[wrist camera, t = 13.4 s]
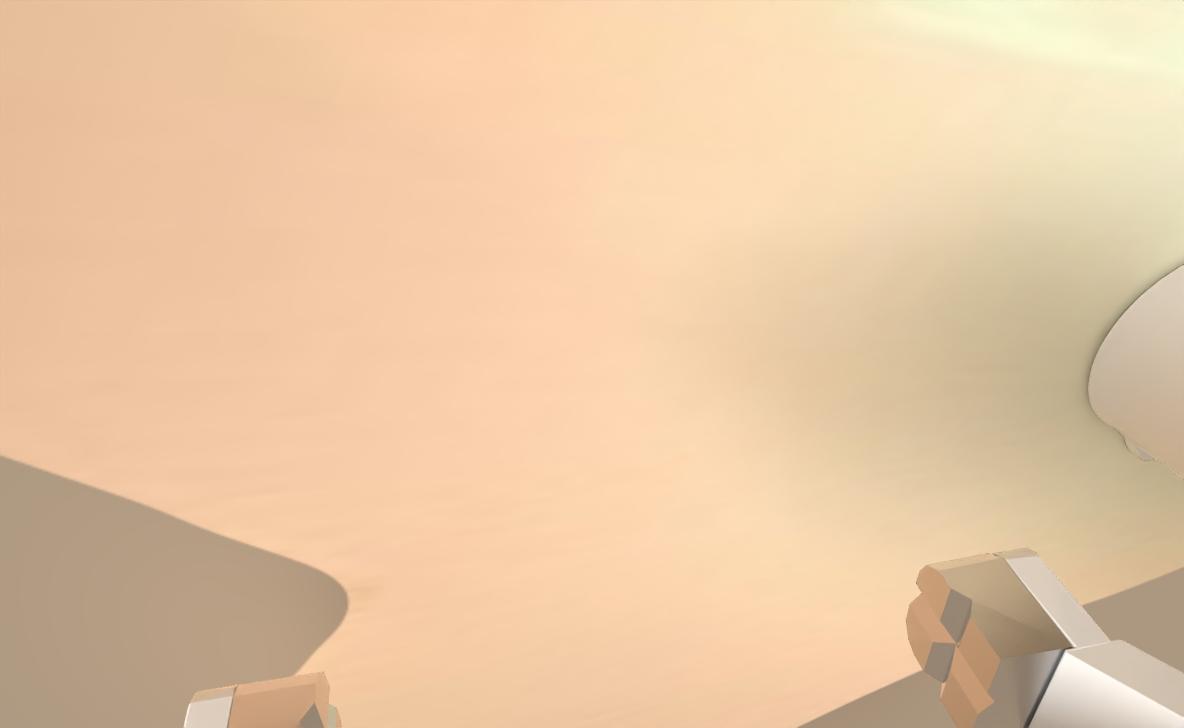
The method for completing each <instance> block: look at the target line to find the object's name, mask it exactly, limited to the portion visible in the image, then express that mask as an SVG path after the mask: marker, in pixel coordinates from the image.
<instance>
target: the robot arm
mask: <svg viewBox="0 0 1184 728" xmlns="http://www.w3.org/2000/svg"><path fill="white" fill-rule="evenodd" d="M1088 392H1089V399H1090V403H1091V406H1092V408H1093V410H1094V412H1095V414H1096V415H1097V416H1098V417H1099V418H1100V419H1101V420H1102V421H1103V422H1104V423H1106V424H1107V425H1109V426H1111V427H1113V428H1114V429H1116V430H1118V431H1119V432H1121V433H1122V434H1123V437H1124V440H1125V443H1126V445H1127V447H1128V449H1129V451H1130V452H1132V453H1133V454H1134V455H1136V456H1137V457H1139V458H1140V459H1141V460H1144V461H1151V460H1155V459H1156V460H1157V461H1159V462H1160V463H1162V464H1163V465H1164V466H1166V467H1167V468H1168V469H1170V470H1171V471H1172V472H1174V473H1175V474H1177V475H1178V476H1179V477H1181V478H1182V479H1183V480H1184V265H1182V266H1180V267H1179V268H1177V269H1176V270H1174V271H1173V272H1171V273H1169V274H1168V275H1166V276H1165V277H1164V278H1162V279H1161V280H1159V281H1158V282H1157V283H1155V284H1154V285H1153V286H1152V287H1150V288H1149V289H1148V290H1147V291H1146V292H1145V293H1143V294H1142V295H1141V296H1140V297H1139V298H1138V299H1137V300H1136V301H1135V302H1134V303H1133V304H1132V305H1131V306H1130V307H1129V308H1128V309H1127V310H1126V311H1125V312H1124V314H1123V315H1122V316H1121V317H1120V318H1119V320H1118V321H1117V322H1116V323H1115V325H1114V326H1113V327H1112V329H1111V330H1110V332H1109V333H1108V335H1107V336H1106V338H1105V339H1104V341H1103V343H1102V345H1101V347H1100V349H1099V351H1098V353H1097V355H1096V357H1095V360H1094V362H1093V365H1092V369H1091V372H1090V377H1089V385H1088ZM916 584H917V586H918V587H919V589H920V590H921V592H922V593H921V594H920V595H919V596H918V597H917V598H916V599H915V600H914V601H913V602H912V603H911V604H910V605H909V610H908V614H907V618H906V625H907V632H908V640H909V642H910V645H911V647H912V650H913V653H914V655H915V657H916V659H917V660H918V662H919V664H920V666H921V667H922V669H923V671H925V672H926V673H928V674H930V675H931V676H932V677H934V678H935V679H937V680H939V681H940V682H942V690H941V698H940V699H941V701H942V703H943V704H944V706H945V708H946V709H947V711H948V713H949V714H950V716H951V718H952V719H953V721H954V723H955V724H956V726H957V727H958V728H1184V673H1182V672H1180V671H1178V670H1177V669H1175V668H1173V667H1171V666H1169V665H1167V664H1166V663H1164V662H1162V661H1160V660H1158V659H1156V658H1154V657H1152V656H1151V655H1149V654H1147V653H1145V652H1143V651H1141V650H1140V649H1138V648H1136V647H1134V646H1132V645H1130V644H1128V643H1127V642H1125V641H1123V640H1121V639H1120V640H1114V641H1111V640H1110V639H1109V638H1108V637H1107V636H1106V634H1105V633H1104V632H1103V631H1102V630H1101V629H1100V628H1099V626H1098V625H1097V624H1096V623H1095V622H1094V620H1093V619H1092V618H1091V617H1090V616H1089V615H1088V613H1087V612H1086V611H1085V610H1084V609H1083V607H1082V606H1081V605H1080V604H1079V602H1078V601H1077V600H1076V599H1075V598H1074V597H1073V595H1072V594H1071V593H1070V592H1069V591H1068V589H1067V588H1066V587H1065V586H1064V585H1063V583H1062V582H1061V581H1060V580H1059V579H1058V578H1057V576H1056V575H1055V574H1054V573H1053V572H1052V570H1051V569H1050V568H1049V567H1048V566H1047V564H1046V563H1045V562H1044V561H1043V560H1042V559H1041V557H1040V556H1039V555H1038V554H1037V553H1036V552H1034V551H1032V550H1031V549H1029V548H1019V549H1014V550H1009V551H1004V552H999V553H994V554H989V553H987V554H982V555H977V556H972V557H966V558H961V559H956V560H951V561H945V562H940V563H935V564H930V565H926V566H925V567H924V568H923V569H922V570H920V572H919V575H918V578H917V582H916ZM329 690H330V687H329V684H328V682H327V679H326V677H325V674H324V672H318V673H312V674H305V675H299V676H292V677H287V678H280V679H273V680H267V681H260V682H254V683H247V684H240V685H234V686H227V687H221V688H215V689H210V690H204V691H198V692H196V693H195V695H194V697H193V699H192V701H191V702H190V704H189V706H188V710H187V715H186V719H185V723H184V728H342V725H341V720H340V717H339V714H338V710H337V708H336V707H334V706H332V705H330V704H329Z"/></svg>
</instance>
